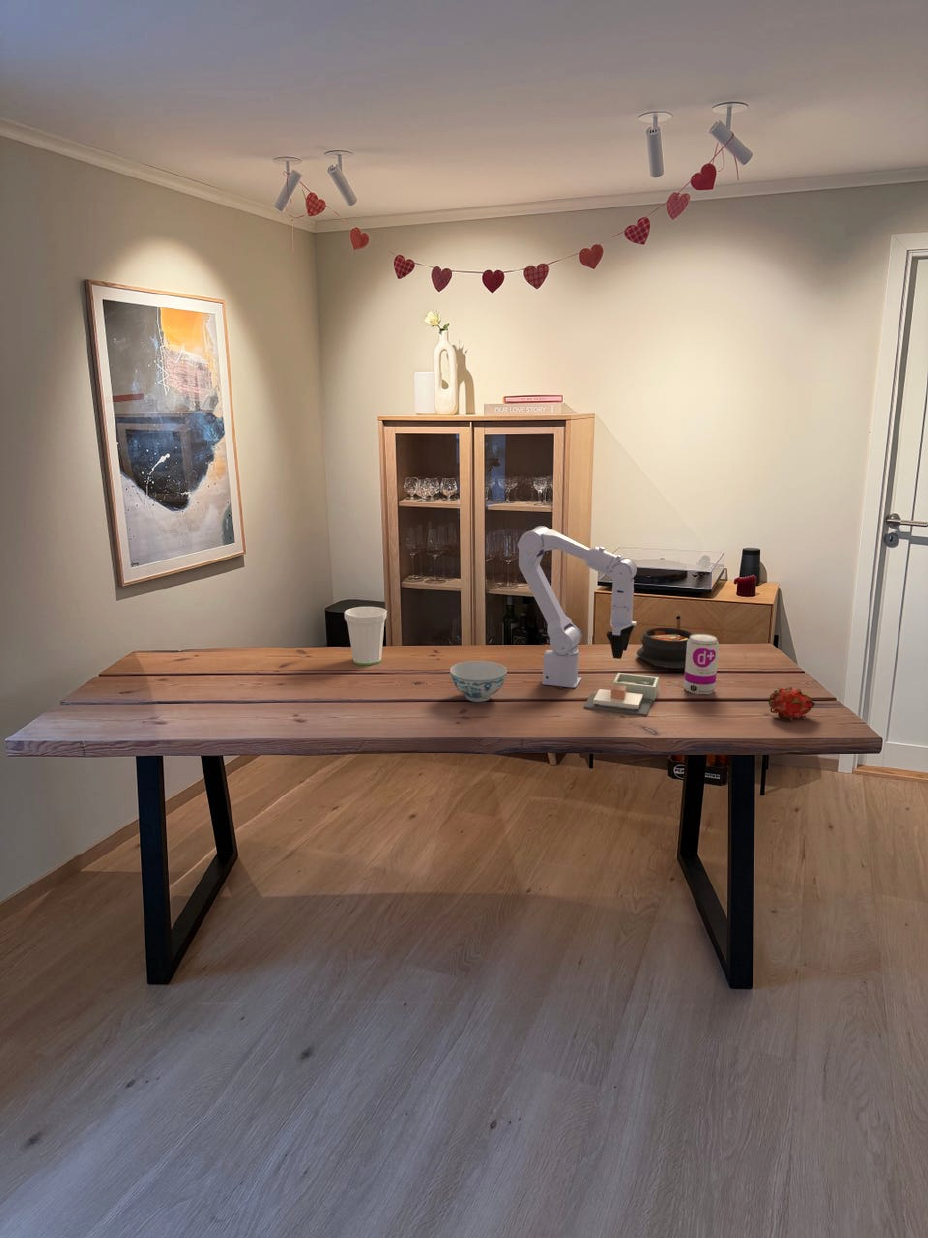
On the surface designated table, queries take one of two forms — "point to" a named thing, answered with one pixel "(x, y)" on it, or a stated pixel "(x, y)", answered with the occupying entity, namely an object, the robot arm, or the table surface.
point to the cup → (366, 633)
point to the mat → (641, 710)
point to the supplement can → (701, 664)
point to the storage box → (639, 684)
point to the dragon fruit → (790, 703)
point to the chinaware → (478, 679)
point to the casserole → (665, 647)
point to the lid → (618, 698)
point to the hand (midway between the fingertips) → (619, 654)
